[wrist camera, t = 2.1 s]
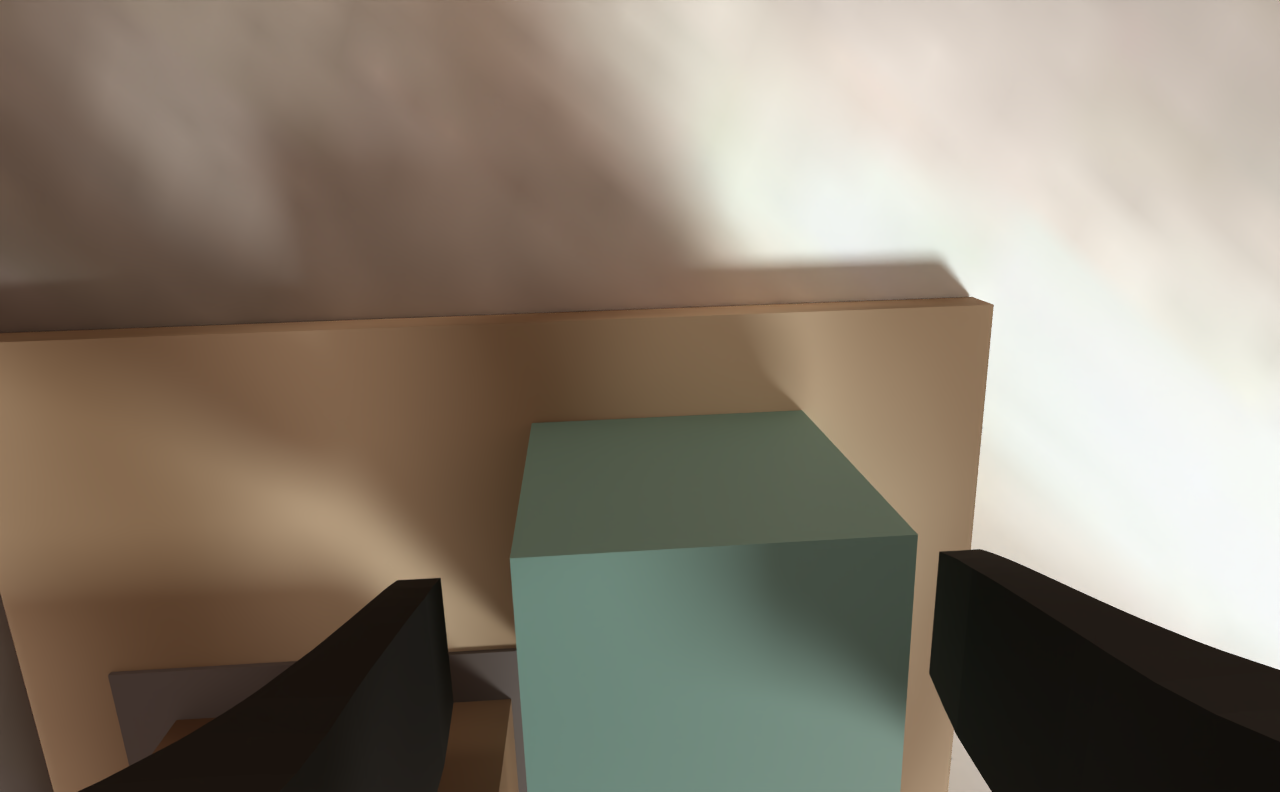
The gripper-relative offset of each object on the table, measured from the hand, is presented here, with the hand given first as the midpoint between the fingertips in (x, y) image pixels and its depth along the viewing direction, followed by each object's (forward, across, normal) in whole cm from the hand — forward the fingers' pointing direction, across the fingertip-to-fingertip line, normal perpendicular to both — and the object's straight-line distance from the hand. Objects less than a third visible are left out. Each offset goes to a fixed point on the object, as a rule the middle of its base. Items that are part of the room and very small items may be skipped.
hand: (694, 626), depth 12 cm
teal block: (+3, 0, 0) cm, 3 cm away
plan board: (+4, +3, +4) cm, 6 cm away
